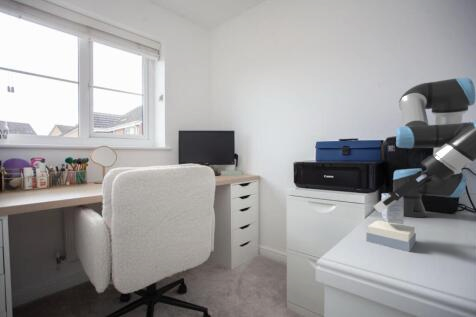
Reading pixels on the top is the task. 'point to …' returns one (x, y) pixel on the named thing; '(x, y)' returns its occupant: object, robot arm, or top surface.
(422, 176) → the robot arm
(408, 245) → the cream grey flat block
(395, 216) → the medicine box
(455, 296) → the top surface
